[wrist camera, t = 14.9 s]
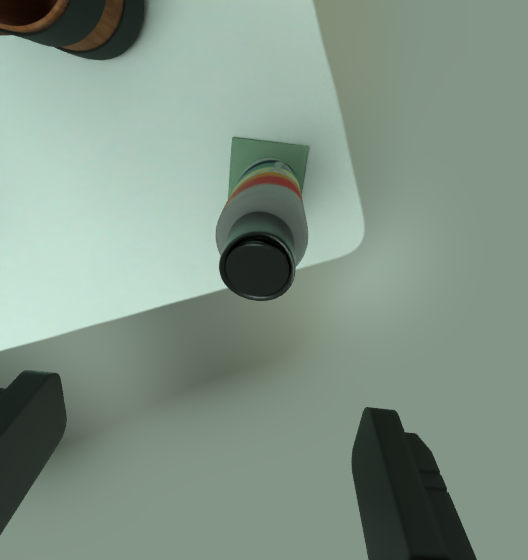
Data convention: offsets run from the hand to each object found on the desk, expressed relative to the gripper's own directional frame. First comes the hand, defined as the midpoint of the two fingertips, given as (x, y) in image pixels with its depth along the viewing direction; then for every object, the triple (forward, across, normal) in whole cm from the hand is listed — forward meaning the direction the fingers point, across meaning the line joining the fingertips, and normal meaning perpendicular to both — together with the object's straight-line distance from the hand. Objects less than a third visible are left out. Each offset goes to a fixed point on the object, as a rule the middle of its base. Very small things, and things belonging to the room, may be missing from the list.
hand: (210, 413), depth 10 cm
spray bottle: (+30, -1, 0) cm, 30 cm away
